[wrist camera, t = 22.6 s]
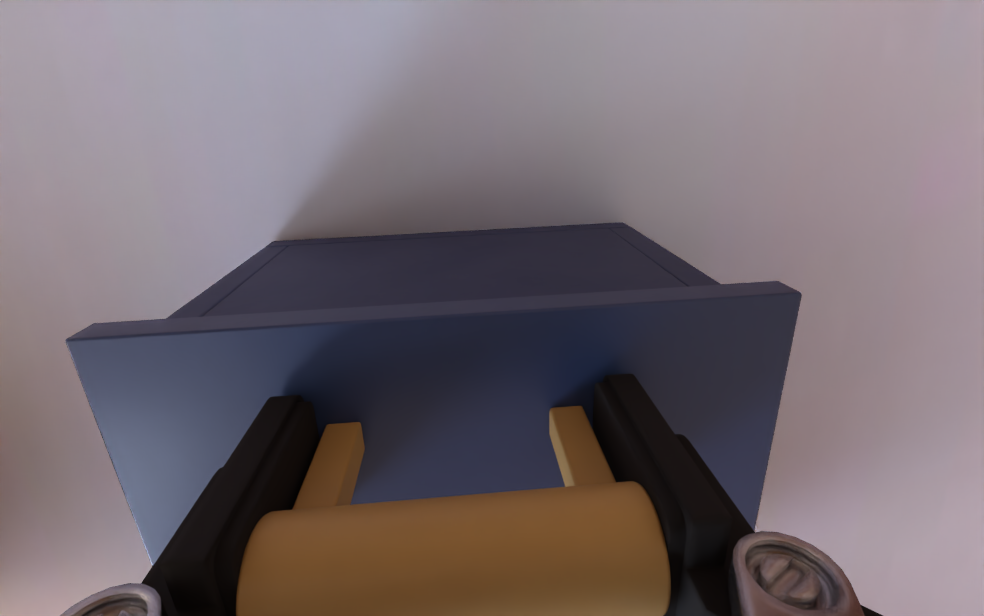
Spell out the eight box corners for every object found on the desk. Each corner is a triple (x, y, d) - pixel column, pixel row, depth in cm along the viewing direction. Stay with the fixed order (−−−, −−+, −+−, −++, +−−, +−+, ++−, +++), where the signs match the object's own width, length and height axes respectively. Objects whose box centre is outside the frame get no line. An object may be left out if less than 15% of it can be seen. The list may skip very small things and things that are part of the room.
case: (272, 240, 19) (106, 359, 10) (624, 221, 20) (772, 315, 11) (340, 572, 26) (277, 831, 16) (604, 548, 26) (686, 782, 17)
